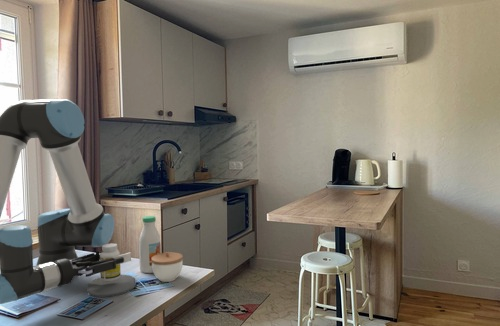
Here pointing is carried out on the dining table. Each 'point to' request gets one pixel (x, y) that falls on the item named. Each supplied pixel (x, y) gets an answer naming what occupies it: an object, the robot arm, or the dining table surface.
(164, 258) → the lidded jar
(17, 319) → the dining table surface
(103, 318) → the dining table surface
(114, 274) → the pill bottle
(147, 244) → the milk bottle
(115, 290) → the slate plate
